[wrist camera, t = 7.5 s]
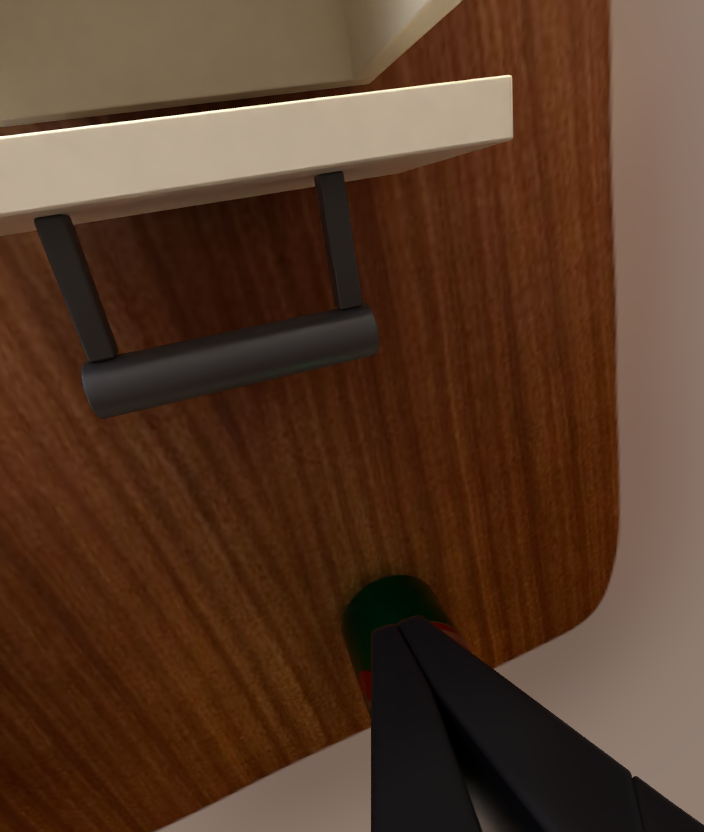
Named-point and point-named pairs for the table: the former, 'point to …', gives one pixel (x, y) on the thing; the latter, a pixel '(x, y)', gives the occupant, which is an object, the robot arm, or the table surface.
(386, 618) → the soda can
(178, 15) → the drawer
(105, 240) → the table surface
